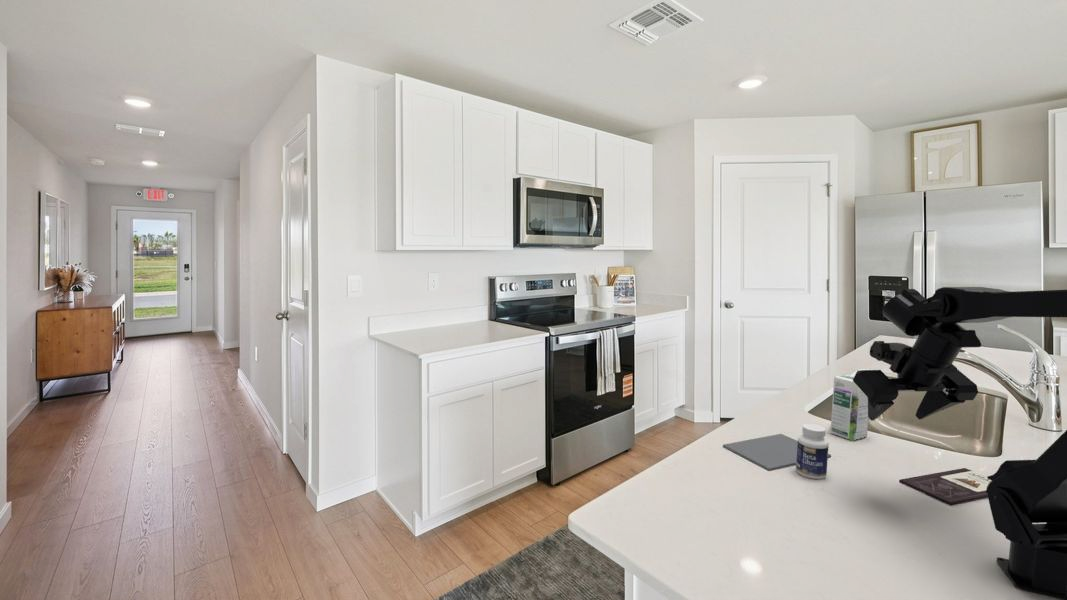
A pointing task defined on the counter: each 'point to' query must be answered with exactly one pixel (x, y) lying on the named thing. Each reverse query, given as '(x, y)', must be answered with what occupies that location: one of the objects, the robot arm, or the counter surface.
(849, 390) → the syrup box
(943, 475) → the chocolate bar
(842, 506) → the counter surface
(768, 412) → the counter surface
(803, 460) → the pill bottle
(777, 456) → the mat
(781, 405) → the counter surface
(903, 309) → the robot arm
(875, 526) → the counter surface
